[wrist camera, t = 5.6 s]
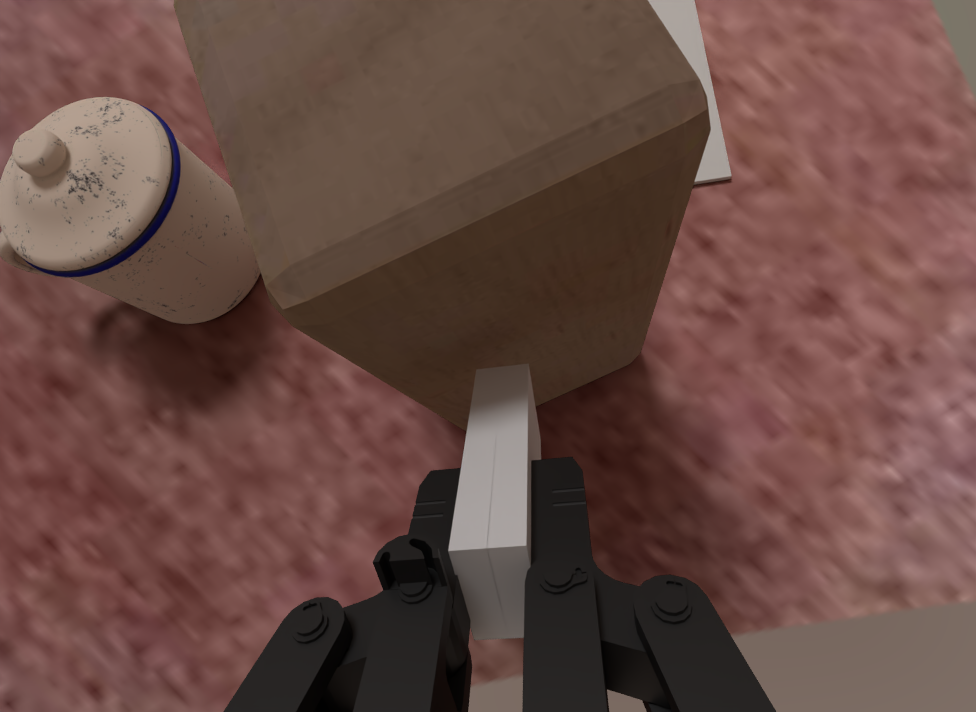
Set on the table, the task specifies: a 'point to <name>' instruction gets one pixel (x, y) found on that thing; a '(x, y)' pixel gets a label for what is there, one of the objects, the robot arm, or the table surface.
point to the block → (456, 177)
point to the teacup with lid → (125, 212)
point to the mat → (683, 25)
